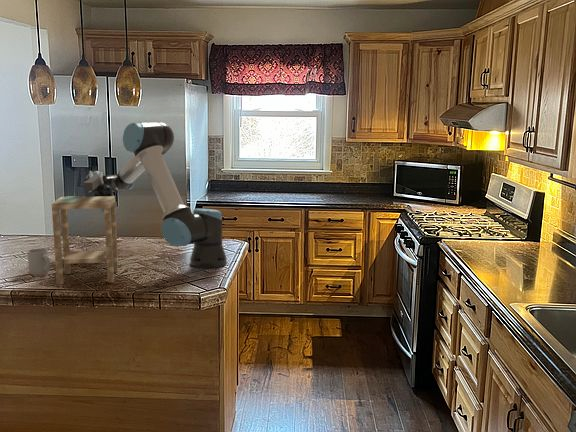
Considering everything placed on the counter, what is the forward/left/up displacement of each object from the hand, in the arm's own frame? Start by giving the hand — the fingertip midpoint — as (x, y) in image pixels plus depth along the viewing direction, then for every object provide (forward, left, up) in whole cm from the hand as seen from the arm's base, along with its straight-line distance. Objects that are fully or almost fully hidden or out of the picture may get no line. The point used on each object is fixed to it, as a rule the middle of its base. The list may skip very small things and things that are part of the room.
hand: (95, 173), depth 225 cm
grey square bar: (0, +4, -4) cm, 6 cm away
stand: (+3, +11, -39) cm, 40 cm away
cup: (+22, +3, -39) cm, 44 cm away
